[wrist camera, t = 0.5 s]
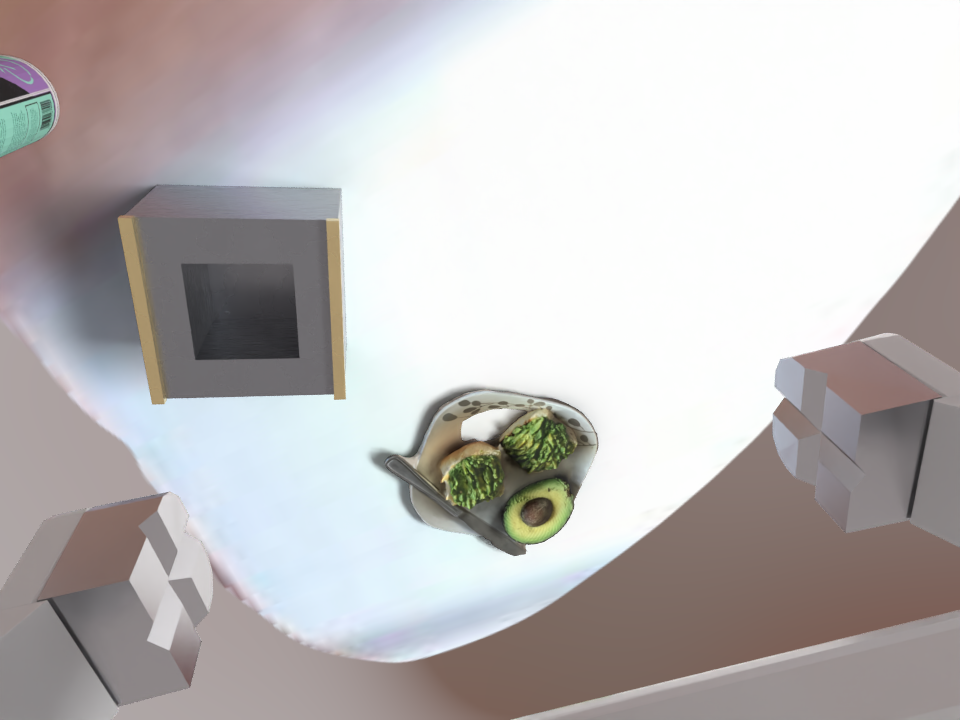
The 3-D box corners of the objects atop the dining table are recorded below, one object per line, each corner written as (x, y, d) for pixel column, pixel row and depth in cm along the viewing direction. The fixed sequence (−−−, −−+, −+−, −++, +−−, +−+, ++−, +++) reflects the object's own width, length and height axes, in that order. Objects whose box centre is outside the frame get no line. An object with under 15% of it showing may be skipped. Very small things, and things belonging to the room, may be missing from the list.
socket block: (156, 182, 50) (117, 218, 42) (342, 186, 52) (338, 221, 44) (182, 346, 56) (152, 404, 48) (347, 344, 58) (345, 399, 50)
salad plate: (361, 517, 67) (360, 550, 63) (416, 360, 60) (420, 386, 56) (541, 549, 72) (551, 581, 68) (611, 408, 65) (628, 435, 61)
